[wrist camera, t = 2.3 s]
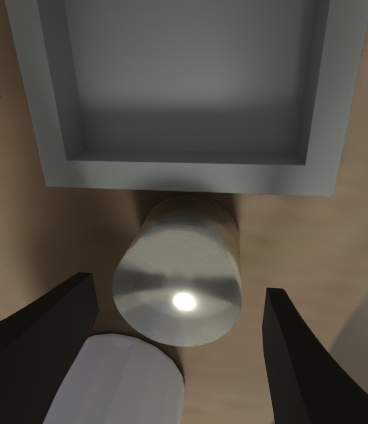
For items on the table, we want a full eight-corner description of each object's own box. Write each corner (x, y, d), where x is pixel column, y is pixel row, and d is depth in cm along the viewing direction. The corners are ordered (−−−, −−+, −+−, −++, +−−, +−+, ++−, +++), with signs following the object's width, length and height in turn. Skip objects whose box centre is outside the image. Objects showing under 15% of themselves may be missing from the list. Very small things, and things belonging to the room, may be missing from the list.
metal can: (236, 281, 18) (237, 352, 13) (147, 274, 18) (119, 339, 14) (242, 195, 15) (245, 245, 11) (139, 192, 16) (104, 237, 12)
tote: (314, 173, 14) (333, 196, 12) (77, 167, 16) (45, 186, 13) (376, -200, 9) (433, -310, 7) (22, -151, 11) (-45, -222, 8)
